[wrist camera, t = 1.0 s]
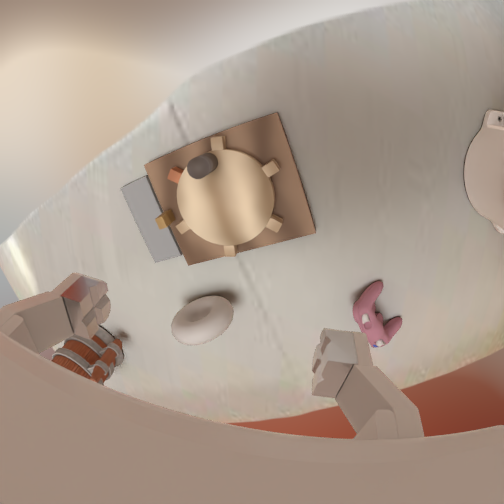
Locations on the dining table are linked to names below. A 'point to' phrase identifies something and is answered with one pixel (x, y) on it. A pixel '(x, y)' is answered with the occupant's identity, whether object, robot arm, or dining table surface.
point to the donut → (202, 320)
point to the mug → (90, 355)
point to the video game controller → (374, 317)
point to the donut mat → (150, 219)
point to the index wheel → (226, 196)
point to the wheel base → (263, 150)
